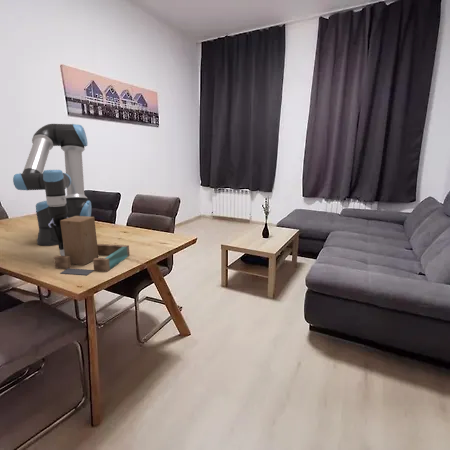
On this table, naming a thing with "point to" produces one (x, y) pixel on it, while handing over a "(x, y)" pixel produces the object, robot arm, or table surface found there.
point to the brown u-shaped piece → (100, 264)
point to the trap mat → (77, 271)
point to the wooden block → (79, 239)
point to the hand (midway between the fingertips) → (64, 255)
